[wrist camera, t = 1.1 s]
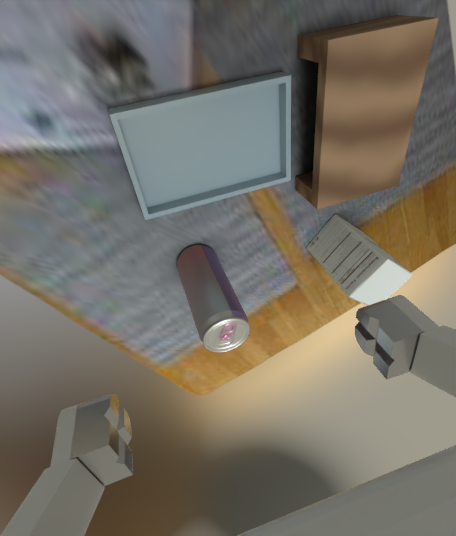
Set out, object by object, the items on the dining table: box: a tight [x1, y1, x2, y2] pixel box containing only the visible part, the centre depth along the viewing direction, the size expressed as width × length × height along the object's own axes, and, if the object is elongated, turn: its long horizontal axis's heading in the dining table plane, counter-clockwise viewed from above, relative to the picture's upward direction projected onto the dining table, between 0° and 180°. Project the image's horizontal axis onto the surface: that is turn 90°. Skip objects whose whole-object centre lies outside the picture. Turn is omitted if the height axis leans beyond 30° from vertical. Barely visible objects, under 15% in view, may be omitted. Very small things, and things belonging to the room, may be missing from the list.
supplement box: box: [306, 214, 412, 306], centre depth 50 cm, size 7×7×13 cm
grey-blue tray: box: [108, 71, 291, 220], centre depth 38 cm, size 12×19×2 cm, turn 97°
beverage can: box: [177, 245, 250, 352], centre depth 43 cm, size 6×6×15 cm
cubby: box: [296, 15, 439, 209], centre depth 39 cm, size 18×12×6 cm, turn 7°
